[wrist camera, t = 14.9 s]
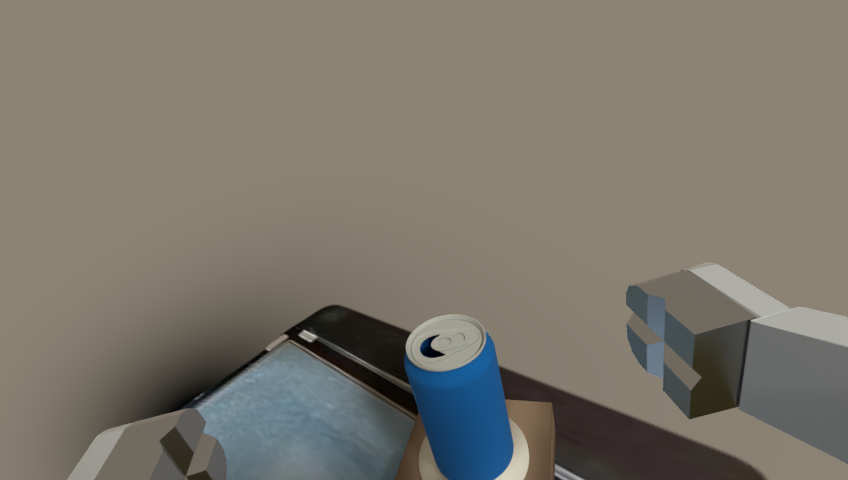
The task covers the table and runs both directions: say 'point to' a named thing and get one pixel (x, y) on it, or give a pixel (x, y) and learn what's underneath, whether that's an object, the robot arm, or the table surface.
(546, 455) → the base block
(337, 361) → the table surface
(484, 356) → the beverage can
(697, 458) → the table surface
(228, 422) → the table surface
